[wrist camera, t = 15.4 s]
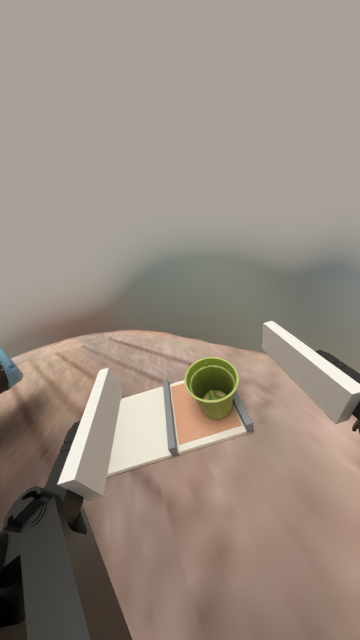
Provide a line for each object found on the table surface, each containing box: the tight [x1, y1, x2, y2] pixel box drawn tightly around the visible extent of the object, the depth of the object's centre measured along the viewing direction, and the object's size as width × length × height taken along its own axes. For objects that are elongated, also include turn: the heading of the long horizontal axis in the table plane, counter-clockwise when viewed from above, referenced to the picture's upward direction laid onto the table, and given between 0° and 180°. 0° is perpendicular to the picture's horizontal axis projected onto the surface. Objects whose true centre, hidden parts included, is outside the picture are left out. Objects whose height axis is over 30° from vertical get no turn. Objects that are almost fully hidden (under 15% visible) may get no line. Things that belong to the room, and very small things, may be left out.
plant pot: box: [184, 357, 239, 420], centre depth 30 cm, size 9×9×9 cm
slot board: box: [107, 379, 253, 477], centre depth 33 cm, size 28×14×3 cm, turn 100°
